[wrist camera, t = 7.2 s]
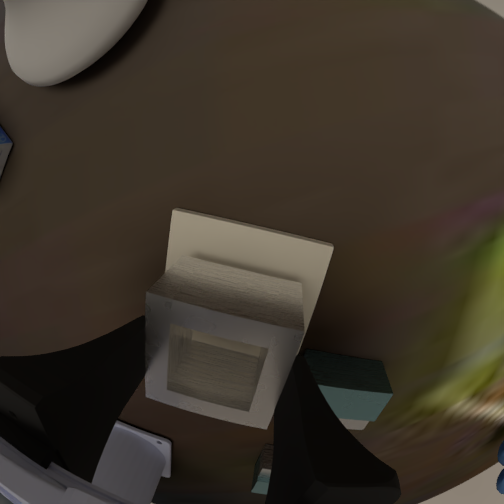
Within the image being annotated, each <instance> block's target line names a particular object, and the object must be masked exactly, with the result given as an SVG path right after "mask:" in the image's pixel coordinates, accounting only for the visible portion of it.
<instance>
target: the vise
mask: <svg viewBox="0 0 504 504" xmlns="http://www.w3.org/2000/svg"><path fill="white" fill-rule="evenodd" d="M303 357H305V359H306V360H307V363H308V365H309V367H310V370H311V372H312V374H313V376H314V378H315V380H316V382H317V384H318V386H319V388H320V390H321V392H322V394H323V395H324V397H325V399H326V401H327V402H328V404H329V405H330V407H331V409H332V410H333V412H334V413H335V415H336V416H337V417H338V419H339V420H340V421H341V422H342V424H343V425H344V426H345V427H346V429H356V430H363V429H364V428H365V426H366V425H367V423H368V422H369V421H375V420H376V419H377V417H378V416H379V414H380V413H381V411H382V410H383V409H384V407H385V406H386V404H387V403H388V401H389V400H390V398H391V397H392V395H393V392H392V389H391V386H390V383H389V380H388V377H387V374H386V372H385V369H384V366H383V363H382V361H376V360H369V359H362V358H356V357H350V356H344V355H338V354H332V353H327V352H321V351H316V350H311V349H306V351H305V354H304V356H303ZM273 447H274V445H269V444H265V446H264V448H263V450H262V452H261V454H260V456H259V458H258V460H257V462H256V464H255V469H254V476H253V482H252V489H251V492H254V493H260V494H267V491H268V486H269V480H270V474H271V468H272V461H273Z"/></svg>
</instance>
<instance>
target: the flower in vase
mask: <svg viewBox="0 0 504 504" xmlns="http://www.w3.org/2000/svg"><path fill="white" fill-rule="evenodd" d="M3 1H4V3H5V8H6V18H5V48H6V53H7V57H8V61H9V64H10V66H11V68H12V70H13V71H14V73H15V74H16V75H17V76H18V77H20V78H21V79H22V80H23V81H25V82H26V83H28V84H30V85H33V86H40V87H43V86H51V85H54V84H58V83H61V82H63V81H65V80H68V79H69V78H71V77H73V76H75V75H77V74H78V73H80V72H81V71H83V70H84V69H86V68H87V67H89V66H90V65H92V64H93V63H95V62H96V61H97V60H98V59H100V58H101V57H102V56H103V55H104V54H105V53H107V52H108V51H109V50H110V49H111V48H112V47H113V46H114V45H115V44H116V43H117V42H118V41H119V40H120V39H121V38H122V37H123V35H124V34H125V33H126V32H127V31H128V29H129V28H130V27H131V26H132V24H133V23H134V21H135V20H136V19H137V17H138V16H139V14H140V13H141V11H142V10H143V8H144V6H145V4H146V3H147V1H148V0H3Z"/></svg>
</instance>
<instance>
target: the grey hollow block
mask: <svg viewBox="0 0 504 504" xmlns="http://www.w3.org/2000/svg"><path fill="white" fill-rule="evenodd" d="M145 327H146V334H145V386H146V397H148V398H151V399H153V400H156V401H159V402H162V403H165V404H168V405H171V406H174V407H178V408H181V409H184V410H188V411H191V412H194V413H198V414H202V415H205V416H209V417H213V418H217V419H221V420H225V421H229V422H233V423H238V424H242V425H247V426H251V427H256V428H262V429H267V427H268V425H269V423H270V420H271V418H272V416H273V413H274V409H275V407H276V405H277V402H278V400H279V397H280V395H281V392H282V390H283V387H284V385H285V382H286V380H287V377H288V375H289V372H290V370H291V367H292V365H293V362H294V360H295V357H296V354H297V352H298V349H299V346H300V343H301V341H302V338H303V335H304V332H305V330H304V313H303V297H302V283H298V282H294V281H289V280H285V279H281V278H276V277H272V276H268V275H263V274H259V273H255V272H251V271H246V270H242V269H238V268H234V267H230V266H225V265H221V264H217V263H213V262H209V261H205V260H201V259H196V258H192V257H188V256H184V255H182V256H181V257H180V258H179V259H178V260H177V261H176V262H175V263H174V264H173V265H172V266H171V267H170V268H169V269H168V270H167V271H166V272H165V273H164V274H163V275H162V276H161V277H160V278H159V279H158V280H157V281H156V282H155V283H154V284H153V285H152V286H151V287H150V288H149V289H148V290H147V292H146V307H145ZM193 330H196V331H199V332H203V333H207V334H210V335H214V336H218V337H222V338H226V339H230V340H234V341H238V342H242V343H246V344H251V345H255V346H259V347H261V350H260V354H259V356H255V355H251V354H246V353H242V352H238V351H234V350H230V349H226V348H222V347H218V346H214V345H210V344H207V343H203V342H199V341H196V340H192V337H193Z"/></svg>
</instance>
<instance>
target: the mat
mask: <svg viewBox="0 0 504 504" xmlns="http://www.w3.org/2000/svg"><path fill="white" fill-rule="evenodd" d="M333 249H334V246H333V244H331V243H327V242H323V241H319V240H315V239H311V238H307V237H303V236H299V235H295V234H291V233H287V232H282V231H278V230H274V229H270V228H265V227H261V226H257V225H253V224H248V223H244V222H240V221H235V220H231V219H226V218H222V217H217V216H213V215H208V214H204V213H199V212H195V211H190V210H185V209H181V208H175V209H173V211H172V219H171V226H170V234H169V243H168V251H167V261H166V271H167V270H168V269H169V268H170V267H171V266H172V265H173V264H174V263H175V262H176V261H177V260H178V259H179V258H180V257H181V256H182V255H184V256H188V257H192V258H196V259H201V260H205V261H209V262H213V263H217V264H221V265H225V266H230V267H234V268H238V269H242V270H246V271H251V272H255V273H259V274H263V275H268V276H272V277H276V278H281V279H285V280H289V281H294V282H298V283H302V297H303V313H304V330H305V332H304V335H303V338H302V341H301V343H300V346H299V349H298V352H297V354H296V355H298V353H299V350H300V347H301V345H302V342H303V339H304V336H305V334H306V331H307V328H308V325H309V322H310V320H311V317H312V314H313V311H314V308H315V305H316V302H317V299H318V296H319V293H320V290H321V287H322V284H323V281H324V278H325V275H326V272H327V268H328V265H329V262H330V259H331V256H332V252H333ZM166 271H165V272H166ZM192 340H196V341H199V342H203V343H207V344H210V345H214V346H218V347H222V348H226V349H230V350H234V351H238V352H242V353H246V354H251V355H255V356H259V354H260V350H261V347H259V346H255V345H251V344H246V343H242V342H238V341H234V340H230V339H226V338H222V337H218V336H214V335H210V334H207V333H203V332H199V331H196V330H193V337H192Z"/></svg>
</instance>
